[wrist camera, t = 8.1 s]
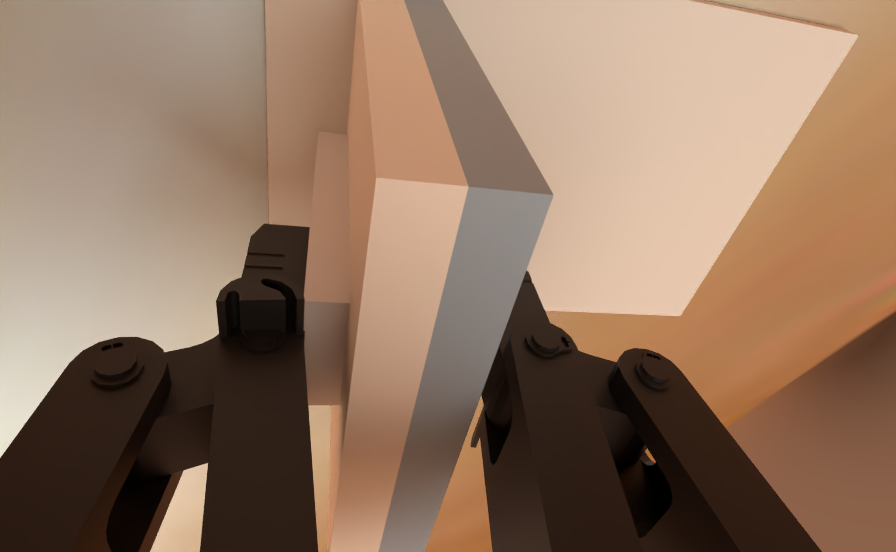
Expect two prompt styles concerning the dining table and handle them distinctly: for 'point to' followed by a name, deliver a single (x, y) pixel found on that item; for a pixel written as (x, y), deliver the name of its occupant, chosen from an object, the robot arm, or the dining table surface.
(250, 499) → the robot arm
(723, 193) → the mat
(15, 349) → the dining table surface
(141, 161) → the dining table surface
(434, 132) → the tile
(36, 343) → the dining table surface
